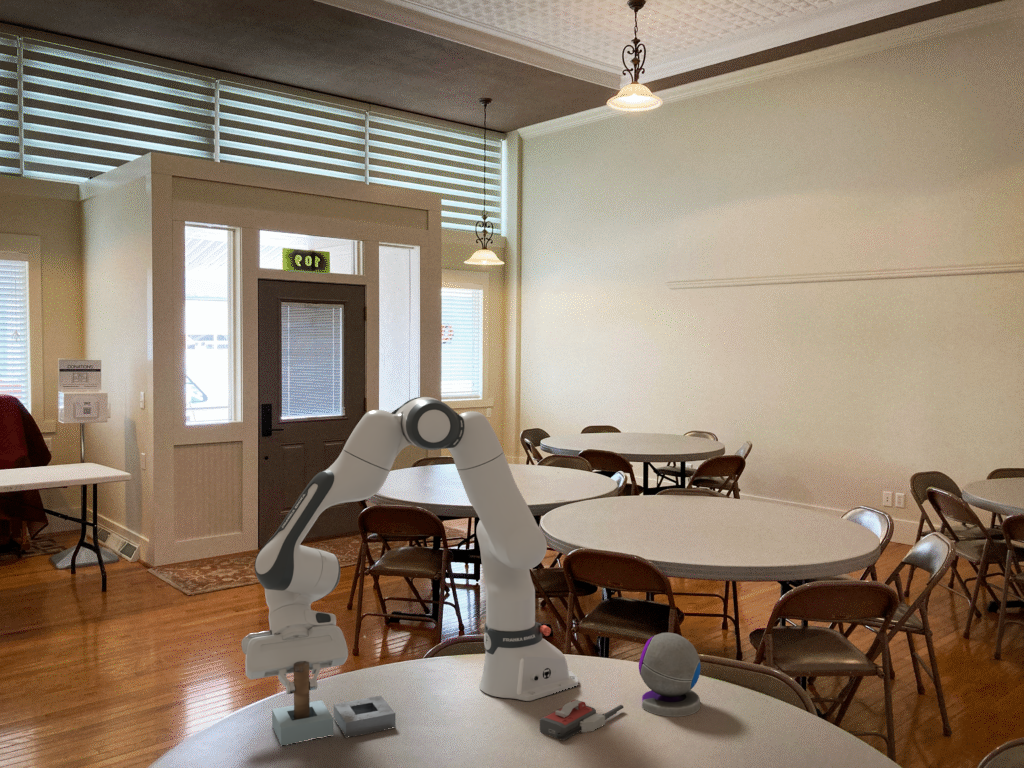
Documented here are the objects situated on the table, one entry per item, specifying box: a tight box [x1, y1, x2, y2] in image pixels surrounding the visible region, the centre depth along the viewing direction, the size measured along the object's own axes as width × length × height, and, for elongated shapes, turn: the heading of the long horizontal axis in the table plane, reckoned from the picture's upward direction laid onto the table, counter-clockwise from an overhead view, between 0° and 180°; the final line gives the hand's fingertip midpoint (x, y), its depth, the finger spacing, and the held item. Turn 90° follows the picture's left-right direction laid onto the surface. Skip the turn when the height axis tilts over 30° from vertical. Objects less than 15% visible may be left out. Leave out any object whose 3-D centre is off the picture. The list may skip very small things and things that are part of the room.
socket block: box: [333, 695, 397, 738], centre depth 167 cm, size 10×10×3 cm
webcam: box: [638, 632, 701, 717], centre depth 175 cm, size 13×13×15 cm
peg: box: [293, 661, 311, 720], centre depth 163 cm, size 3×3×11 cm
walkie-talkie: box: [539, 699, 624, 741], centre depth 166 cm, size 9×4×20 cm
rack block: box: [271, 699, 334, 746], centre depth 163 cm, size 10×10×4 cm
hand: (302, 690), depth 163 cm, fingers closed on peg, 3 cm apart
